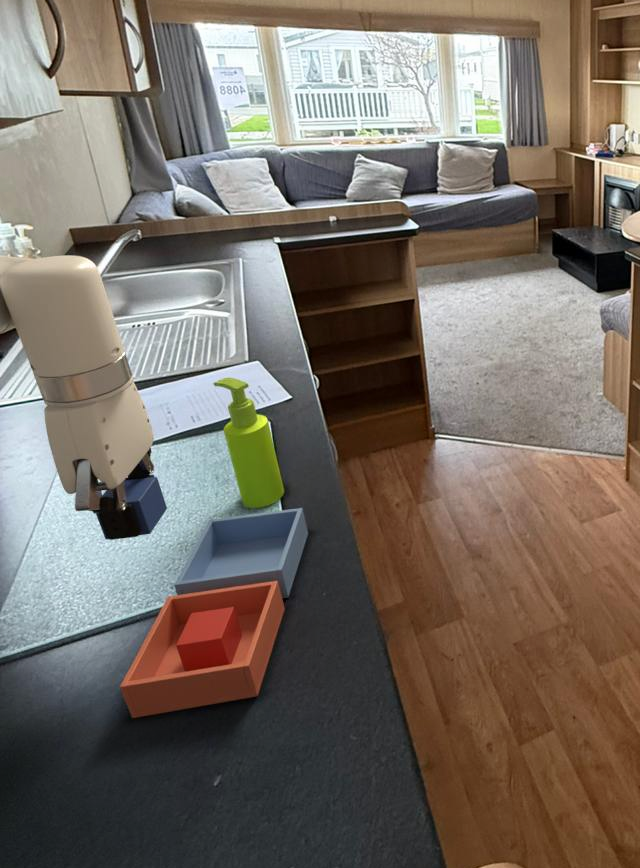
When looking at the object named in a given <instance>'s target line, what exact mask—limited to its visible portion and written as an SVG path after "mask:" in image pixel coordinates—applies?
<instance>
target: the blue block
mask: <svg viewBox="0 0 640 868" xmlns="http://www.w3.org/2000/svg"><path fill="white" fill-rule="evenodd" d="M123 484H124V489H125V495H126V501H127V504H132V505H133V508H134V511H135V514H136V516H137V519H138V522H139V525H140V528H141V533H140V535H139V536H145V535H151V534H152V532H153V530H155V527H156V526H157V525H158V523H159V522H160V520H161V519H162V517H163V515H164V514H165V512H166V511H167V509H168V507H167V503H166V501H165V498H164V494H163V492H162V488H161V485H160V482H159V479H158V476H154V477H150V478H141V479H132V480H124V481H123ZM104 491H105V492H104V493H102V497H111V498H114V497H113V491H112V489H111V490H104ZM95 516H96V518H97V520H98V523H99V527H100V528H101V531H102V533H103V536H104V539H105V540H109V539H108V538H107V537H106V534H105V531H104V529H103V526H102V523H101V521H100V518H99V516H98V513H97V514H95Z"/></svg>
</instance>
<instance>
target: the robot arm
mask: <svg viewBox="0 0 640 868" xmlns="http://www.w3.org/2000/svg"><path fill="white" fill-rule="evenodd" d="M13 329H16V332H17V335H18V337H19V340H20V342H21V345H22V347H23V351H24V352H25V355H26V358H27V361H28V363H29V366H30V368H31V371H32V374H33V377H34V379H35V382H36V385H37V387H38V389H39V393H40V394H41V397H42V400H43V402H44V404H45V405H46V406H45V408H44V409H43V412H44V423H45V431H46V434H47V440H48V444H49V448H50V451H51V455H52V458H53V462H54V465H55V468H56V472H57V475H58V477H59V481H60V483H61V485H62V488H63V490H64V491H65V493H66V494H68V495H73V494H74V495H75V499H74V509H75V511H76V512H87V511H89V512H92V513H93V515H96V514H97V513H98V516H99V518H100V521H101V523H102V526H103V529H104V531H105V534H106V537H107V538H108V539H107V540H109V541H114V540H121V539H129V538H137V537H140V536H141V535H140V533H141V528H140V525H139V522H138V519H137V516H136V514H135V511H134V508H133V505H132V504H127V501H126V495H125V489H124V484H123V481H124V480H132V479H141V478H150V477H155V474H153V473H154V471H155V465H154V463H153V461H152V459H151V456H152V452H153V451H152V446H153V443H154V440H155V439H154V438H155V437H154V431H153V428H152V424H151V420H150V417H149V414H148V411H147V409H146V406H145V404H144V401H143V399H142V396H141V393H140V391H139V389H138V388H137V385H136V384H135V382H134V381H135V380H134V379H135V378H134V375H133V372H132V370H131V367H130V363H129V360H128V357H127V353H126V351H125V347H124V345H123V342H122V338H121V335H120V332H119V329H118V325H117V323H116V320H115V317H114V313H113V310H112V306H111V304H110V301H109V297H108V295H107V290H106V288H105V285H104V282H103V279H102V276H101V272H100V271H99V269H98V266H97V265H96V264H95V263H94V262H93V261H92V260H90V259H89V258H87V257H84V256H81V255H68V254H67V255H66V254H65V255H53V256H52V255H51V256H45V257H39V258H28V257H19V256H9V255H1V254H0V335H1V334H4V333H6V332H9V331H11V330H13ZM111 489H112V491H113V497H114V498H111V497H102V495H103V492H102V491H106V490H111Z"/></svg>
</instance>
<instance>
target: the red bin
mask: <svg viewBox="0 0 640 868" xmlns="http://www.w3.org/2000/svg"><path fill="white" fill-rule="evenodd" d="M230 607H234V610H235V613H236V617H237V620H238V623H239V627H240V630H241V634H242V637H241V640H240V642H239V645H238V648H237V650H236V653H235V656H234V659H233V661H232V664H230V665H224V666H218V667H212V668H206V669H200V670H194V671H188V672H185V670H184V667H183V664H182V661H181V659H180V656H179V653H178V650H177V647H176V645H177V642H178V640H179V638H180V636H181V634H182V632H183V630H184V628H185V626H186V624H187V621H188V619H189V617H190V615H191V613H197V612H203V611H210V610H217V609H223V608H230ZM285 610H286V608H285V605H284V601H283V598H282V596H281V592H280V588H279V584H278V581H273V582H265V583H258V584H251V585H244V586H237V587H230V588H224V589H217V590H210V591H203V592H196V593H189V594H182V595H177V594H176V595H170V596H167V597H166V600H165V601H164V603H163V605H162V607H161V609H160V611H159V613H158V614H157V616H156V618H155V619H154V622H153V624H152V626H151V628H150V630H149V631H148V633H147V635H146V637H145V638H144V641H143V643H142V644H141V646H140V647H139V650H138V652H137V654H136V656H135V658H134V660H133V662H132V663H131V665H130V667H129V669H128V671H127V672H126V675H125V676H124V678H123V679H122V682H121V684H120V686H119V689H120V691H121V692H120V693H121V694H122V696H123V697H122V698H123V699H124V701H125V704H126V706H127V709H128V711H129V713H130V716H131V718H132V719H135V718H141V717H147V716H152V715H159V714H165V713H169V712H175V711H182V710H187V709H192V708H199V707H203V706H209V705H215V704H221V703H227V702H232V701H238V700H244V699H249V698H255V697H258V696H259V693H260V689H261V686H262V683H263V680H264V677H265V674H266V670H267V667H268V665H269V661H270V658H271V654H272V651H273V648H274V645H275V642H276V638H277V635H278V631H279V629H280V625H281V623H282V620H283V616H284V612H285Z"/></svg>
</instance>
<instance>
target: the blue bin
mask: <svg viewBox="0 0 640 868" xmlns="http://www.w3.org/2000/svg"><path fill="white" fill-rule="evenodd" d="M308 536H309V531H308V527H307V522H306V518H305V513H304V509H303V507H298V508H292V509H282V510H276V511H275V510H274V511H267V512H259V513H251V514H244V515H235V516H228V517H220V518H213V519H211V518H210V519H208V521H207V522H206V525H205V526H204V528H203V530H202V532H201V534H200V535H199V538H198V539H197V541H196V543H195V545H194V547H193V549H192V551H191V553H190V555H189V556H188V558H187V559H186V562H185V564H184V566H183V568H182V569H181V572H180V573H179V575H178V577H177V579H176V580H175V582H174V589H175V592H176V595H182V594H189V593H196V592H203V591H210V590H217V589H224V588H230V587H237V586H244V585H251V584H258V583H265V582H273V581H278V584H279V588H280V592H281V596H282V599H288V598H289V596H290V594H291V590H292V587H293V583H294V580H295V577H296V574H297V571H298V568H299V564H300V562H301V558H302V555H303V551H304V548H305V546H306V542H307V539H308Z"/></svg>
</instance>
